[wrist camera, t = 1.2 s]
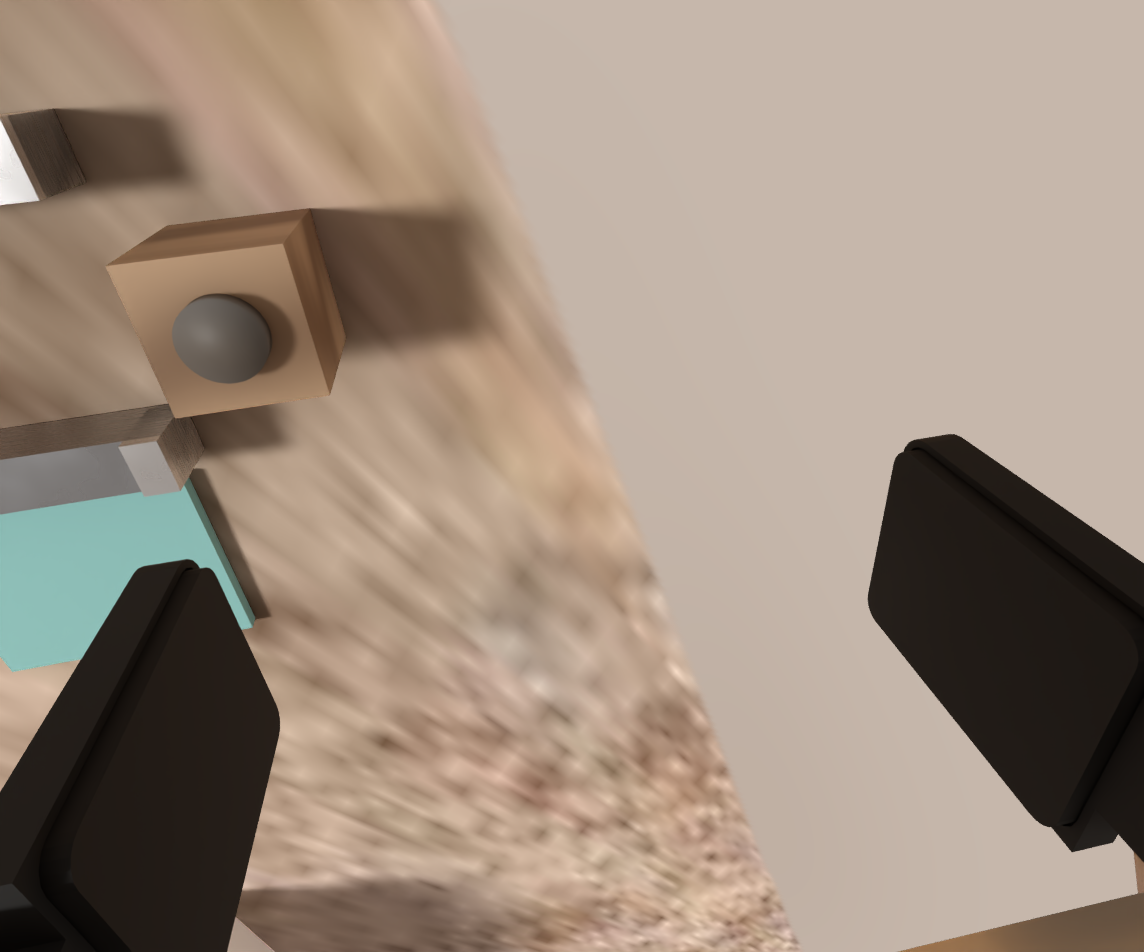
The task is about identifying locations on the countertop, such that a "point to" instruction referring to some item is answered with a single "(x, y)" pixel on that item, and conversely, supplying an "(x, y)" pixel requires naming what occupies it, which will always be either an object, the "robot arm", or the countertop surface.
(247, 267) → the wooden knob block
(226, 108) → the countertop surface
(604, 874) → the countertop surface
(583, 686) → the countertop surface
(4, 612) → the pad
